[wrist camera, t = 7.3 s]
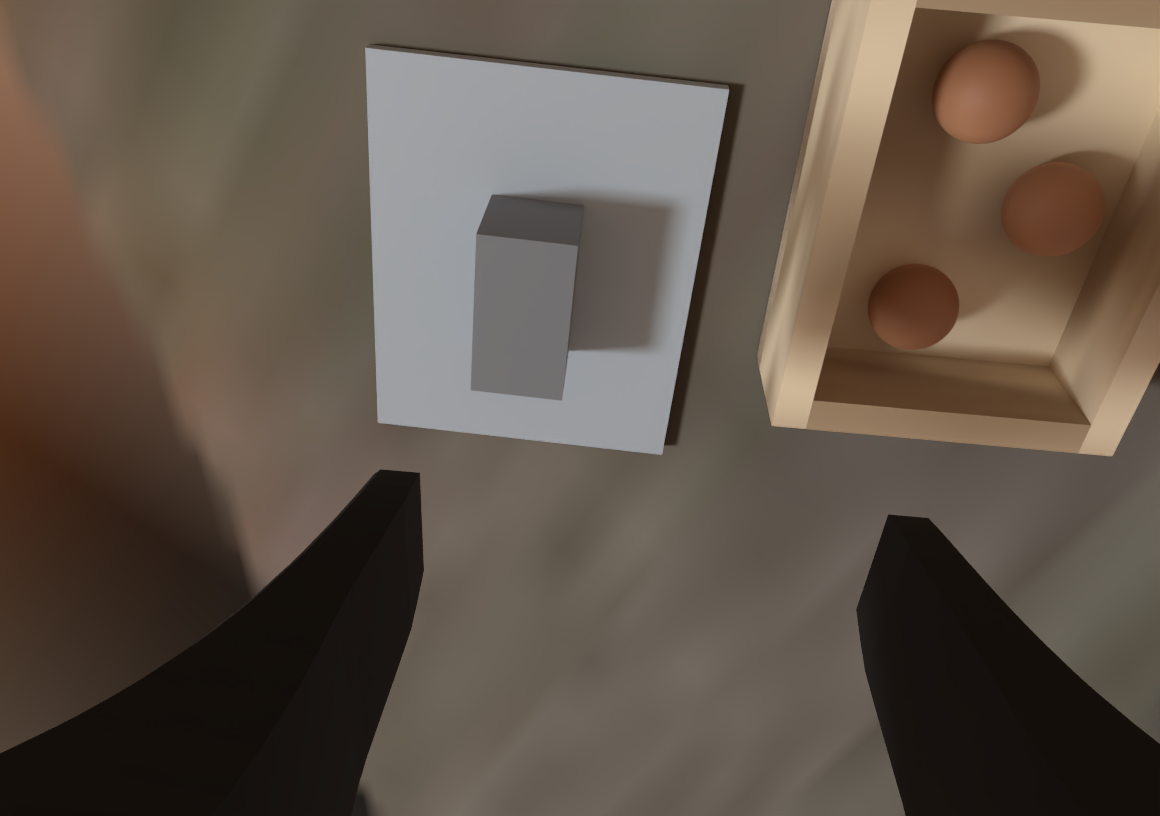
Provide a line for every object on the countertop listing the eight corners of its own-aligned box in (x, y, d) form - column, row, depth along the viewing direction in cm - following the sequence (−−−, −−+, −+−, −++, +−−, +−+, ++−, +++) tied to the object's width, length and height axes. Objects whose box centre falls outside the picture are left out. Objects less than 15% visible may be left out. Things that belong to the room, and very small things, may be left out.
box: (1058, 382, 24) (1112, 456, 21) (756, 356, 24) (771, 425, 21) (1242, -34, 18) (1345, -6, 16) (846, -69, 18) (881, -47, 16)
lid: (661, 434, 26) (663, 509, 23) (386, 403, 26) (355, 475, 23) (725, 78, 21) (739, 121, 18) (376, 37, 21) (333, 74, 18)
